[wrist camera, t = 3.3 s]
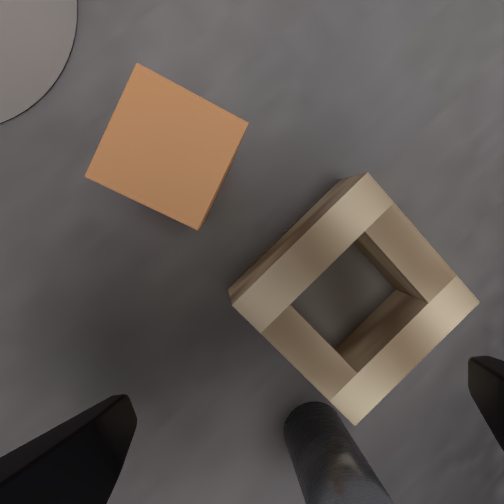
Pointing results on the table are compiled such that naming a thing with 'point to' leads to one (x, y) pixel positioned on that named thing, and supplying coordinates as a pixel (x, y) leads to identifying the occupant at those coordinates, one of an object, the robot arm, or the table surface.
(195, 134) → the square bit
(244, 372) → the table surface
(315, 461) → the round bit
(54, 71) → the cylinder
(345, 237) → the socket block
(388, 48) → the table surface
